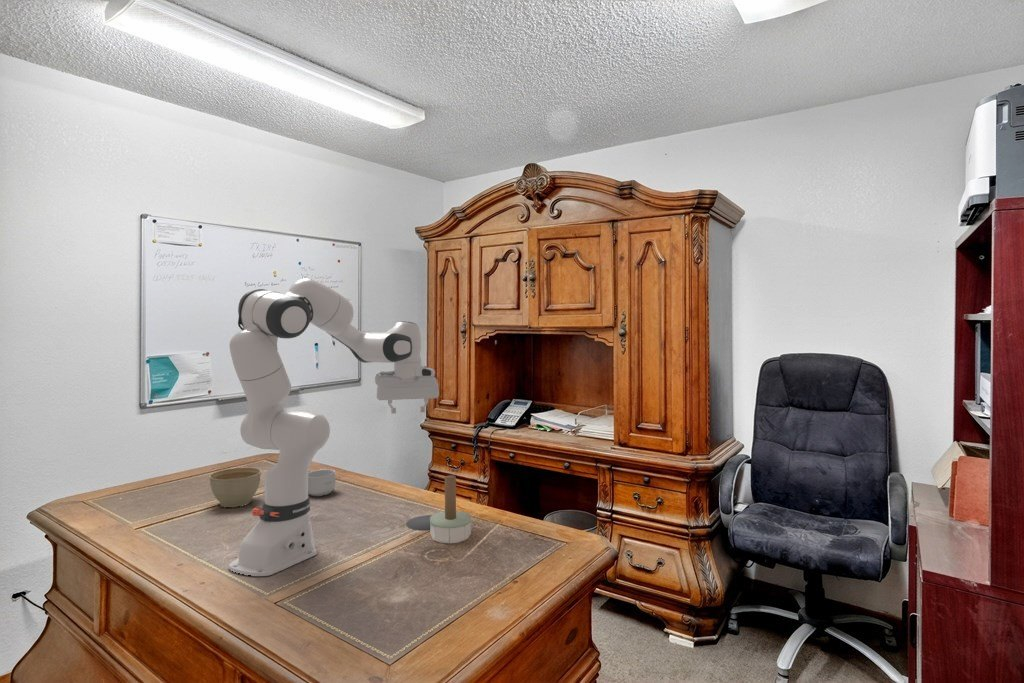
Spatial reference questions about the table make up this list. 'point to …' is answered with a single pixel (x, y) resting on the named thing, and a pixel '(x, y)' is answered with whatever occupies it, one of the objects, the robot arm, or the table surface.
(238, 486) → the planter bowl
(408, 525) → the mat
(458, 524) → the peg stand
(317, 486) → the teacup
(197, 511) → the table surface
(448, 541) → the bowl
